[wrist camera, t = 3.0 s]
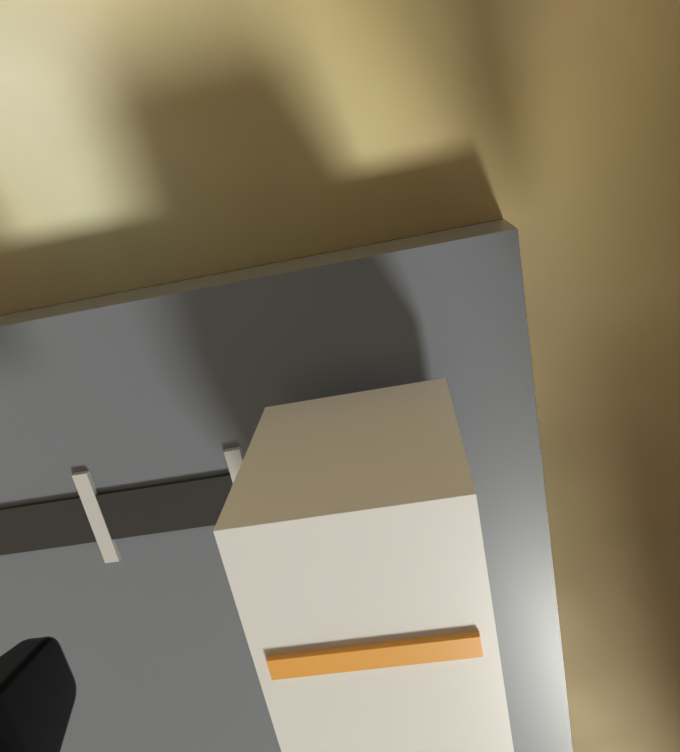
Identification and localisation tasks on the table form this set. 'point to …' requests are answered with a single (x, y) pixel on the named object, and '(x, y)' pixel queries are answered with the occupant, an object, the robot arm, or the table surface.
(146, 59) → the table surface
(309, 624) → the fader
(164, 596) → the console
